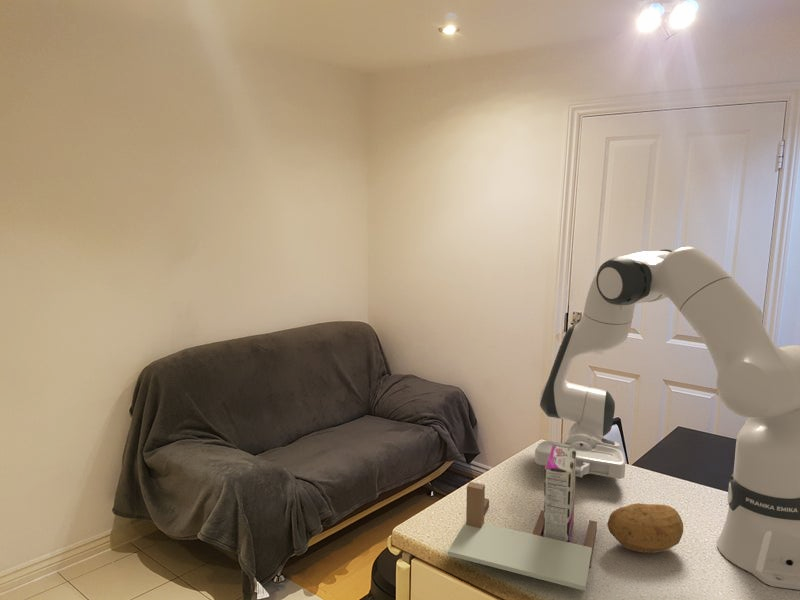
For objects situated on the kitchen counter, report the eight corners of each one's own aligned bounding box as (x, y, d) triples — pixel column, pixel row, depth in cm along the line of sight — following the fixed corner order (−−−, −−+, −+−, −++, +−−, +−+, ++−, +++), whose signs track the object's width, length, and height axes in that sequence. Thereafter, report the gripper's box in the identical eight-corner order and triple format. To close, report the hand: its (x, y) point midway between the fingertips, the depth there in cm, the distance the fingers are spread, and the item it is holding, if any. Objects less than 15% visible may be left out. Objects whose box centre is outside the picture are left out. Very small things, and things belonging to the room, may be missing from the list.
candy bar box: (549, 519, 114) (552, 444, 112) (574, 524, 112) (577, 448, 110) (541, 548, 104) (544, 466, 101) (568, 554, 102) (572, 471, 99)
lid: (591, 551, 99) (594, 506, 98) (585, 590, 89) (587, 540, 87) (466, 523, 109) (467, 481, 107) (447, 555, 98) (448, 509, 97)
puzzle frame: (596, 530, 110) (597, 521, 109) (590, 568, 98) (590, 557, 98) (482, 506, 119) (482, 497, 119) (464, 537, 107) (464, 528, 107)
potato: (595, 535, 108) (597, 497, 107) (663, 531, 109) (666, 494, 108) (619, 566, 98) (622, 524, 97) (694, 561, 100) (697, 520, 99)
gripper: (539, 431, 139) (529, 452, 127) (626, 444, 131) (624, 468, 119) (539, 454, 140) (528, 477, 128) (625, 469, 132) (623, 495, 120)
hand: (575, 473), depth 123 cm, fingers closed
